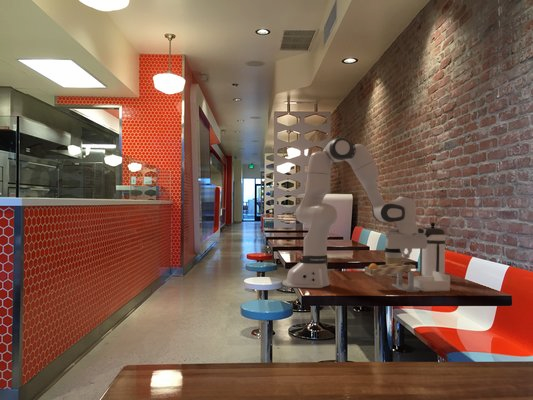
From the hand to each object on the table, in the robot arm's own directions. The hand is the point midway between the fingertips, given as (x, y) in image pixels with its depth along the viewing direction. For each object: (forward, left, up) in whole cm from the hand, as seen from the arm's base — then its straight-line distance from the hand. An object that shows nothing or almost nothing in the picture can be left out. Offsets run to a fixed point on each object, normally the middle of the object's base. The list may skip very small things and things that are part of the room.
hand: (405, 257), depth 203 cm
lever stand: (-5, -9, -13) cm, 17 cm away
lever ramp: (-10, -5, -6) cm, 13 cm away
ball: (-20, -9, -3) cm, 22 cm away
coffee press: (+21, +13, -13) cm, 28 cm away
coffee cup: (+5, +25, -13) cm, 29 cm away
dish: (+7, -9, -13) cm, 17 cm away
